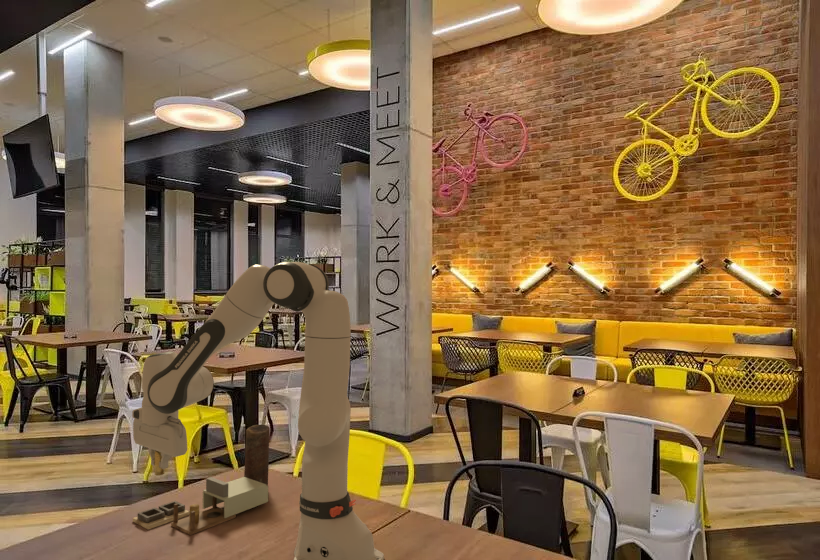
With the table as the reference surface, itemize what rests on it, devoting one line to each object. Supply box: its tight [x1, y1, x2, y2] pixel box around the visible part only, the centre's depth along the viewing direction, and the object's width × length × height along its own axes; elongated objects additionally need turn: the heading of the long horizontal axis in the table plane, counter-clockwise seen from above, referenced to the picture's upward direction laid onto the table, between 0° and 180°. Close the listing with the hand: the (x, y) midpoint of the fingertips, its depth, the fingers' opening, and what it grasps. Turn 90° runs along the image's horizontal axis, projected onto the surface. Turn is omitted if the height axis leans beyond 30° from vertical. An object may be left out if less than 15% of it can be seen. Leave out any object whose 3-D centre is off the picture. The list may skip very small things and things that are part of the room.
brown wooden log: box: [243, 424, 270, 487], centre depth 178 cm, size 8×7×20 cm
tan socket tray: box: [132, 500, 190, 530], centre depth 157 cm, size 8×12×2 cm, turn 143°
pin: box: [154, 451, 166, 476], centre depth 149 cm, size 2×2×6 cm
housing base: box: [170, 496, 237, 536], centre depth 156 cm, size 9×14×6 cm, turn 143°
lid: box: [202, 476, 269, 518], centre depth 164 cm, size 11×15×9 cm
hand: (159, 466), depth 149 cm, fingers closed on pin, 2 cm apart
